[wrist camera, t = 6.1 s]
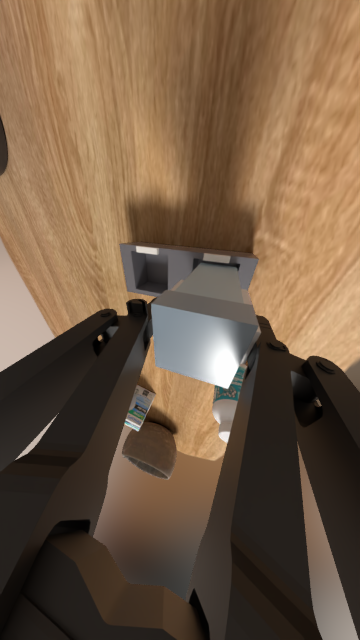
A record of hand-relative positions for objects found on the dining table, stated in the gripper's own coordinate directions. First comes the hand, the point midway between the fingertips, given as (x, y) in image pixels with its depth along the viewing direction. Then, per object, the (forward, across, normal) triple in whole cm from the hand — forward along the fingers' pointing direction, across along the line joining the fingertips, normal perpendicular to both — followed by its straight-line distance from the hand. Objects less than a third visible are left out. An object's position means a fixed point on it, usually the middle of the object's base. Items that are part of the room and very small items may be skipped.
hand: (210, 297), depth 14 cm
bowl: (+10, -13, -79) cm, 81 cm away
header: (+10, -5, 0) cm, 11 cm away
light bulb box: (+10, -19, -48) cm, 53 cm away
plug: (+5, 0, 0) cm, 5 cm away
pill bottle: (+10, +8, -21) cm, 25 cm away
